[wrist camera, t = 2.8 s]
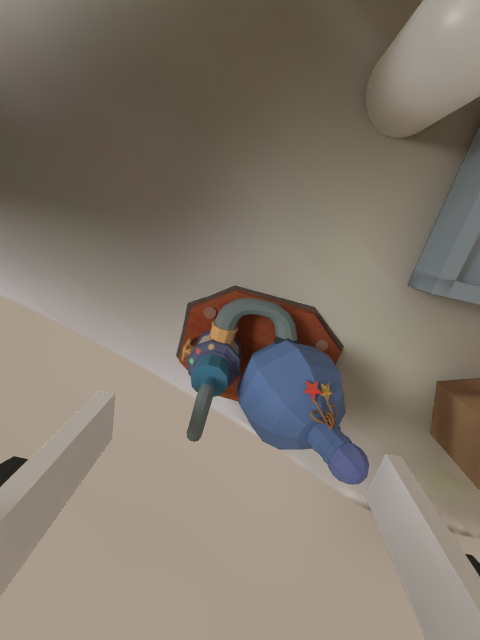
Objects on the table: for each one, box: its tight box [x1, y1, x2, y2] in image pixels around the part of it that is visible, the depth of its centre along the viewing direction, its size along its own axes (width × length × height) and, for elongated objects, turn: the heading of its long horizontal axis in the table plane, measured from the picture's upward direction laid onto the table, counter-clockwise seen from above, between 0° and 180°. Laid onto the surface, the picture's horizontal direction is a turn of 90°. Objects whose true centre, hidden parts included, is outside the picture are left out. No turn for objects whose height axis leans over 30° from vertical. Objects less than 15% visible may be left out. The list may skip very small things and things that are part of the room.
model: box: [176, 286, 369, 484], centre depth 16 cm, size 12×9×9 cm
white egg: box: [365, 0, 480, 138], centre depth 11 cm, size 4×4×6 cm
